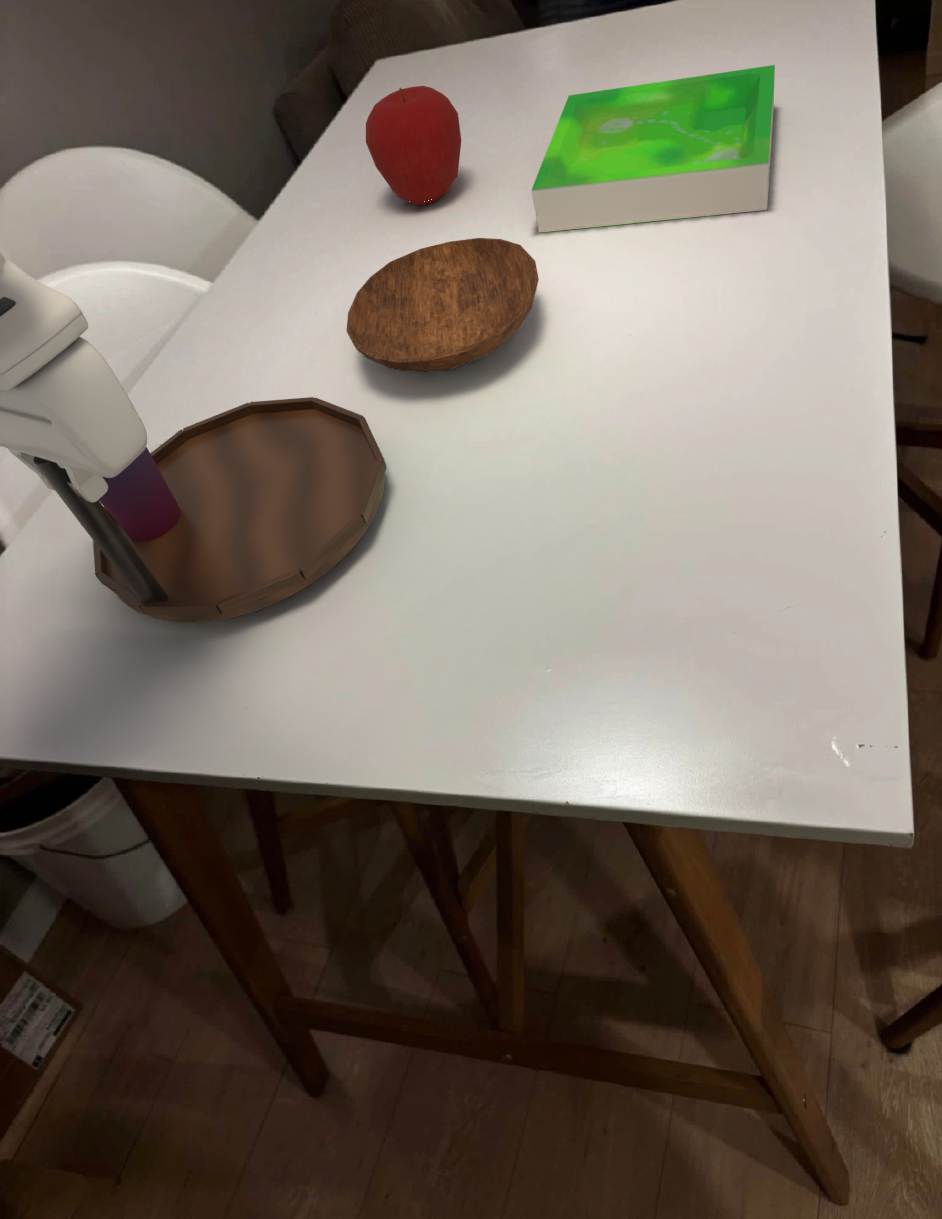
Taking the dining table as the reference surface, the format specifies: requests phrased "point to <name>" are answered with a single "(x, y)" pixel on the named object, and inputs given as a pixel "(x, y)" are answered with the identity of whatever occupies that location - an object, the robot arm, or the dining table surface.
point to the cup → (141, 500)
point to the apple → (415, 143)
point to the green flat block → (659, 152)
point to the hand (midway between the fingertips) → (80, 490)
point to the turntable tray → (242, 510)
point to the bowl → (443, 304)
